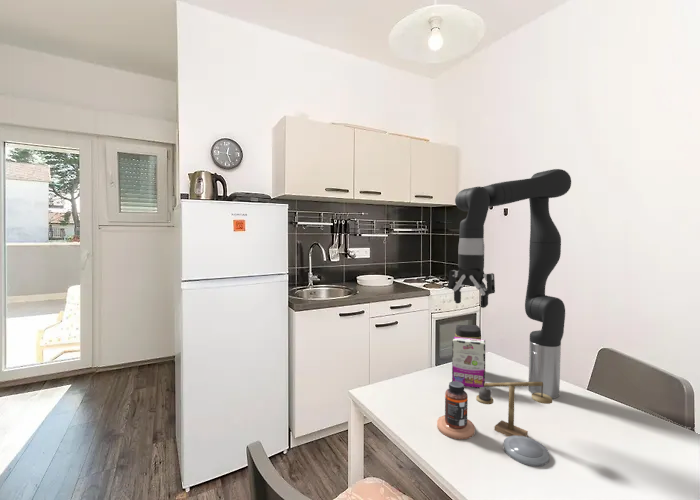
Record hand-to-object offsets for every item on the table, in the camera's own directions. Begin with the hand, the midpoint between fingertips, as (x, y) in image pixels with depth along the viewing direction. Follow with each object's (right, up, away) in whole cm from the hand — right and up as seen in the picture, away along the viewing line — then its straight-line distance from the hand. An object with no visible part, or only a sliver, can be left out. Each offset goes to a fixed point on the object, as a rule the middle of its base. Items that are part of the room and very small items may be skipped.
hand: (470, 305), depth 104 cm
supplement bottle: (-8, -32, -11) cm, 34 cm away
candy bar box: (+5, -32, +17) cm, 36 cm away
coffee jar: (+9, -31, +28) cm, 43 cm away
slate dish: (+6, -33, -21) cm, 40 cm away
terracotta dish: (-8, -33, -11) cm, 35 cm away
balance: (+6, -33, -13) cm, 36 cm away
